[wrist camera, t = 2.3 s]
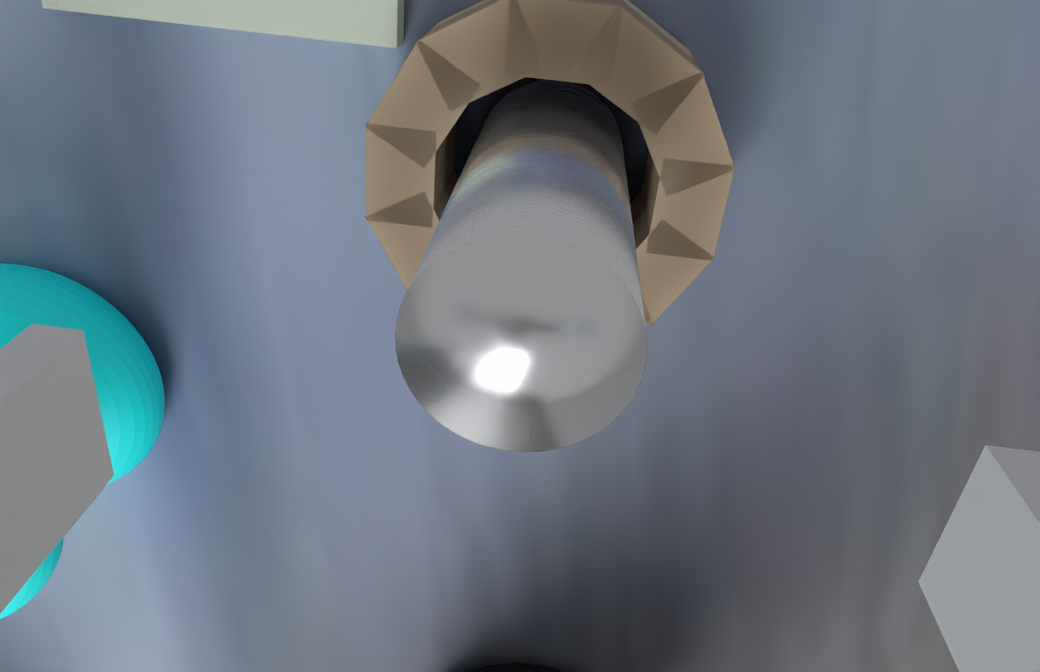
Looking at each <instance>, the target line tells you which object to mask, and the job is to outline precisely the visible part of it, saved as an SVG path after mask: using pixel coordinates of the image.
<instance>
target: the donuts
mask: <svg viewBox="0 0 1040 672" xmlns="http://www.w3.org/2000/svg"><path fill="white" fill-rule="evenodd" d="M32 324H38V325H46V326H54V327H61V328H69V329H77V330H83V331H84V336H85V340H86V345H87V350H88V355H89V359H90V364H91V369H92V373H93V378H94V383H95V387H96V392H97V397H98V402H99V406H100V411H101V416H102V420H103V425H104V430H105V434H106V439H107V444H108V449H109V453H110V458H111V463H112V467H113V472H114V476H113V477H112V479H111V480H110V481H109V482H108V483H111V482H113V481H115V480H117V479H119V478H121V477H122V476H124V475H125V474H127V473H128V472H130V471H131V470H132V469H134V468H135V467H136V466H137V465H138V464H139V463H140V462H141V461H142V460H143V459H144V458H145V457H146V455H147V454H148V453H149V451H150V450H151V449H152V447H153V446H154V444H155V442H156V440H157V438H158V435H159V433H160V430H161V427H162V423H163V419H164V413H165V396H164V387H163V382H162V377H161V374H160V371H159V368H158V365H157V363H156V360H155V358H154V356H153V354H152V352H151V350H150V349H149V347H148V345H147V344H146V342H145V341H144V339H143V338H142V336H141V335H140V334H139V332H138V331H137V330H136V328H135V327H134V326H133V325H132V324H131V323H130V322H129V320H128V319H127V318H126V317H125V316H124V315H123V314H122V313H120V312H119V311H118V310H117V309H116V308H115V307H114V306H112V305H111V304H110V303H109V302H108V301H106V300H105V299H103V298H102V297H101V296H99V295H98V294H96V293H95V292H93V291H92V290H90V289H88V288H87V287H85V286H83V285H81V284H79V283H77V282H76V281H74V280H72V279H69V278H67V277H65V276H62V275H59V274H57V273H54V272H51V271H48V270H44V269H41V268H36V267H31V266H26V265H17V264H6V263H0V349H1V348H2V347H3V346H5V345H6V344H7V343H8V342H10V341H11V340H12V339H14V338H15V337H16V336H17V335H19V334H20V333H21V332H23V331H24V330H25V329H26V328H28V327H29V326H30V325H32ZM108 483H107V484H108ZM63 538H64V537H63ZM63 538H62V539H61V541H60V542H59V543H58V544H57V546H56V547H55V548H54V549H53V550H52V552H51V553H50V554H49V555H48V556H47V558H46V559H45V560H44V561H43V563H42V564H41V565H40V566H39V567H38V569H37V570H36V571H35V572H34V574H33V575H32V576H31V577H30V578H29V580H28V581H27V582H26V583H25V584H24V586H23V587H22V588H21V589H20V591H19V592H18V593H17V594H16V595H15V597H14V598H13V599H12V600H11V602H10V603H9V604H8V605H7V606H6V608H5V609H4V610H3V611H2V612H1V614H0V619H2V618H4V617H7V616H9V615H10V614H12V613H14V612H15V611H17V610H18V609H20V608H21V607H22V606H24V605H25V604H26V603H28V602H29V601H30V600H31V599H33V598H34V597H35V596H36V595H37V594H38V592H39V591H40V590H41V589H42V588H43V586H44V585H45V584H46V582H47V581H48V580H49V578H50V577H51V575H52V573H53V571H54V569H55V567H56V565H57V562H58V560H59V557H60V554H61V551H62V545H63Z"/></svg>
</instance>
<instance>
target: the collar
mask: <svg viewBox="0 0 1040 672" xmlns="http://www.w3.org/2000/svg"><path fill="white" fill-rule="evenodd" d="M524 77H530V78H539V79H548V80H556V81H565V82H574V83H583V84H589V85H590V86H592V87H593V88H594V89H596V90H597V91H598V92H600V93H601V94H602V95H603V96H605V97H606V98H607V99H609V100H610V101H611V102H613V103H614V104H615V105H617V106H618V107H619V108H620V109H622V110H623V111H624V112H626V113H627V114H628V115H630V116H631V117H632V118H633V119H635V120H636V121H637V122H638V123H639V125H640V128H641V130H642V133H643V136H644V138H645V141H646V143H647V146H648V149H649V151H648V156H647V162H646V167H645V173H644V179H643V184H642V190H641V191H640V192H639V193H638V195H637V196H636V197H635V198H634V199H633V201H632V202H631V203H630V207H631V215H632V223H633V231H634V239H635V247H636V255H637V262H638V270H639V278H640V286H641V294H642V302H643V310H644V318H645V326H649V325H652V324H654V322H655V321H656V320H657V319H658V318H659V317H660V316H661V314H662V313H663V312H664V311H665V310H666V309H667V308H668V307H669V306H670V305H671V304H672V303H673V302H674V301H675V299H676V298H677V297H678V296H679V295H680V294H681V293H682V292H683V291H684V290H685V289H686V288H687V287H688V286H689V285H690V283H691V282H692V281H693V280H694V279H695V278H696V277H697V276H698V275H699V274H700V273H701V272H702V271H703V270H704V269H705V267H706V266H707V265H708V264H709V263H710V262H711V261H713V259H714V258H715V257H714V254H715V250H716V246H717V241H718V237H719V233H720V229H721V224H722V220H723V216H724V212H725V207H726V203H727V199H728V195H729V190H730V186H731V182H732V178H733V173H734V170H735V165H734V163H733V161H732V158H731V155H730V152H729V149H728V146H727V143H726V141H725V138H724V135H723V132H722V129H721V126H720V123H719V120H718V117H717V114H716V111H715V108H714V105H713V102H712V99H711V96H710V93H709V90H708V87H707V84H706V81H705V78H704V73H703V71H702V70H701V68H700V67H699V65H698V63H697V62H696V60H695V59H694V57H693V55H692V54H691V52H690V51H689V49H688V48H687V46H684V45H683V44H682V43H681V42H680V41H678V40H677V39H676V38H675V37H673V36H672V35H671V34H670V33H668V32H667V31H666V30H665V29H663V28H662V27H661V26H660V25H659V24H657V23H656V22H655V21H654V20H652V19H651V18H650V17H649V16H647V15H646V14H645V13H644V12H643V11H641V10H640V9H639V8H638V7H636V6H635V5H634V4H633V3H631V2H630V1H629V0H481V1H479V2H477V3H475V4H473V5H471V6H469V7H467V8H465V9H463V10H461V11H459V12H457V13H455V14H453V15H451V16H449V17H447V18H445V19H442V20H441V21H439V22H438V23H437V24H436V25H435V26H434V27H432V28H431V29H430V30H429V31H428V32H427V33H425V34H424V35H423V36H422V37H421V38H420V39H419V40H418V41H416V45H415V46H414V48H413V50H412V51H411V53H410V54H409V56H408V58H407V59H406V61H405V63H404V64H403V66H402V68H401V69H400V71H399V72H398V74H397V76H396V77H395V79H394V81H393V82H392V84H391V86H390V87H389V89H388V90H387V92H386V94H385V95H384V97H383V99H382V100H381V102H380V104H379V105H378V107H377V108H376V110H375V112H374V113H373V115H372V117H371V118H370V120H369V121H368V122H367V123H366V126H365V127H366V216H365V217H366V220H368V222H369V224H370V226H371V227H372V229H373V231H374V233H375V234H376V236H377V238H378V240H379V241H380V243H381V245H382V247H383V248H384V250H385V252H386V254H387V255H388V257H389V259H390V261H391V262H392V264H393V266H394V268H395V269H396V271H397V273H398V275H399V276H400V278H401V280H402V282H403V283H404V285H405V287H406V289H407V290H408V288H409V286H410V284H411V281H412V279H413V277H414V275H415V273H416V271H417V268H418V266H419V264H420V262H421V260H422V258H423V255H424V253H425V251H426V249H427V247H428V244H429V242H430V240H431V238H432V236H433V234H434V231H435V229H436V227H437V225H438V223H439V221H440V218H441V216H442V214H443V212H444V210H445V207H446V205H447V203H448V201H449V199H450V197H451V194H452V192H453V190H454V188H455V186H456V183H457V181H458V179H459V178H458V176H457V174H456V172H455V170H454V152H455V133H456V121H457V120H458V118H459V117H460V115H461V114H462V112H463V111H464V109H465V108H466V106H467V105H468V103H470V102H472V101H474V100H476V99H478V98H481V97H483V96H485V95H487V94H489V93H492V92H494V91H496V90H498V89H500V88H502V87H505V86H507V85H509V84H511V83H513V82H516V81H518V80H520V79H522V78H524Z"/></svg>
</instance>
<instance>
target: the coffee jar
mask: <svg viewBox="0 0 1040 672" xmlns="http://www.w3.org/2000/svg"><path fill="white" fill-rule="evenodd" d="M473 672H559V671H556V670H553V669H550V668H547V667H540V666H532V665H523V664H508V665H498V666H488V667H485V668H482V669H479V670H476V671H473Z"/></svg>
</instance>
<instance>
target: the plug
mask: <svg viewBox="0 0 1040 672" xmlns="http://www.w3.org/2000/svg"><path fill="white" fill-rule="evenodd" d="M395 342H396V353H397V357H398V362H399V366H400V369H401V371H402V374H403V377H404V379H405V381H406V383H407V385H408V387H409V389H410V390H411V392H412V393H413V395H414V396H415V398H416V399H417V400H418V402H419V403H420V404H421V405H422V406H423V407H424V409H425V410H426V411H427V412H428V413H429V414H430V415H431V416H433V417H434V418H435V419H436V420H437V421H438V422H439V423H441V424H442V425H444V426H445V427H447V428H448V429H450V430H451V431H453V432H454V433H456V434H458V435H460V436H462V437H464V438H466V439H468V440H471V441H473V442H476V443H478V444H481V445H485V446H488V447H491V448H496V449H501V450H507V451H518V452H538V451H546V450H553V449H558V448H562V447H566V446H569V445H572V444H575V443H577V442H580V441H582V440H585V439H586V438H588V437H590V436H592V435H594V434H596V433H598V432H599V431H600V430H602V429H603V428H605V427H606V426H608V425H609V424H610V423H611V422H612V421H613V420H615V419H616V418H617V417H618V416H619V415H620V414H621V413H622V411H623V410H624V409H625V408H626V407H627V406H628V404H629V403H630V401H631V400H632V398H633V396H634V395H635V393H636V391H637V389H638V387H639V385H640V383H641V380H642V377H643V374H644V370H645V367H646V359H647V333H646V326H645V318H644V310H643V302H642V294H641V286H640V278H639V270H638V262H637V255H636V247H635V239H634V231H633V223H632V215H631V207H630V199H629V191H628V184H627V176H626V168H625V160H624V152H623V144H622V138H621V133H620V130H619V127H618V124H617V122H616V120H615V118H614V116H613V114H612V113H611V111H610V110H609V108H608V107H607V106H606V105H605V104H604V103H603V101H602V100H600V99H599V98H598V97H597V96H596V95H595V94H593V93H592V92H590V91H589V90H587V89H585V88H583V87H581V86H579V85H577V84H573V83H570V82H565V81H556V80H539V81H535V82H530V83H527V84H525V85H522V86H520V87H518V88H516V89H514V90H512V91H511V92H509V93H508V94H507V95H505V96H504V97H503V98H502V99H501V100H500V101H499V102H498V103H497V104H496V105H495V106H494V108H493V109H492V110H491V112H490V113H489V115H488V117H487V118H486V120H485V122H484V125H483V127H482V129H481V131H480V133H479V136H478V138H477V140H476V142H475V144H474V146H473V149H472V151H471V153H470V155H469V157H468V160H467V162H466V164H465V166H464V168H463V170H462V173H461V175H460V177H459V179H458V181H457V183H456V186H455V188H454V190H453V192H452V194H451V197H450V199H449V201H448V203H447V205H446V207H445V210H444V212H443V214H442V216H441V218H440V221H439V223H438V225H437V227H436V229H435V231H434V234H433V236H432V238H431V240H430V242H429V244H428V247H427V249H426V251H425V253H424V255H423V258H422V260H421V262H420V264H419V266H418V268H417V271H416V273H415V275H414V277H413V279H412V281H411V284H410V286H409V288H408V290H407V292H406V295H405V297H404V299H403V302H402V304H401V306H400V310H399V314H398V318H397V322H396V332H395Z"/></svg>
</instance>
